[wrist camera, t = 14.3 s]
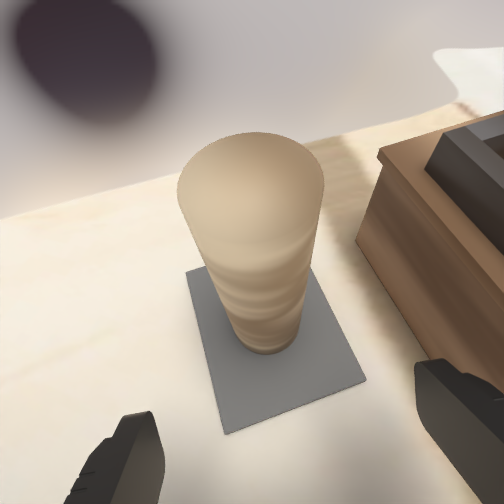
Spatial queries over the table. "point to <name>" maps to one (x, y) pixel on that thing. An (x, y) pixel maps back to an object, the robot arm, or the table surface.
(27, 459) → the table surface
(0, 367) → the table surface
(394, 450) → the table surface
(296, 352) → the rubber mat
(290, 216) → the wooden cylinder
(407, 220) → the wooden box
